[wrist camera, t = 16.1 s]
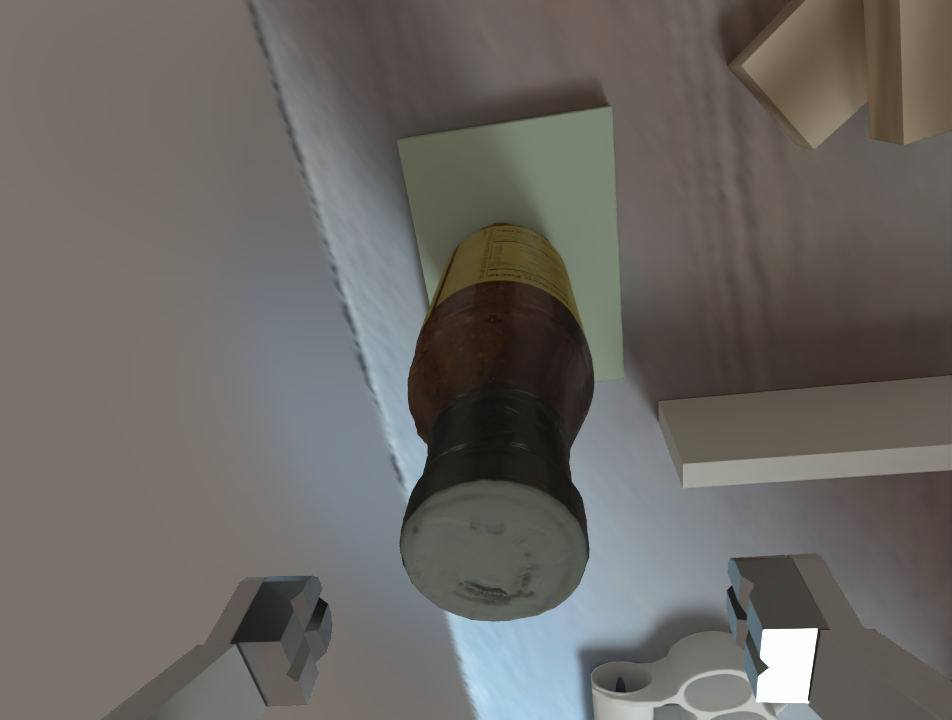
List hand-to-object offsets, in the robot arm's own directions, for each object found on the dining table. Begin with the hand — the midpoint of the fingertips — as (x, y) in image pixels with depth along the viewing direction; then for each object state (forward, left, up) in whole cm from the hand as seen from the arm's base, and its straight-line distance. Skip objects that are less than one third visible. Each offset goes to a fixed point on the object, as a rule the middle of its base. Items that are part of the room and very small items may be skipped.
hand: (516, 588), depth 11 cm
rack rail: (-10, -17, -21) cm, 29 cm away
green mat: (0, 0, -21) cm, 21 cm away
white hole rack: (-38, -9, -22) cm, 45 cm away
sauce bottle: (0, +1, -21) cm, 21 cm away
